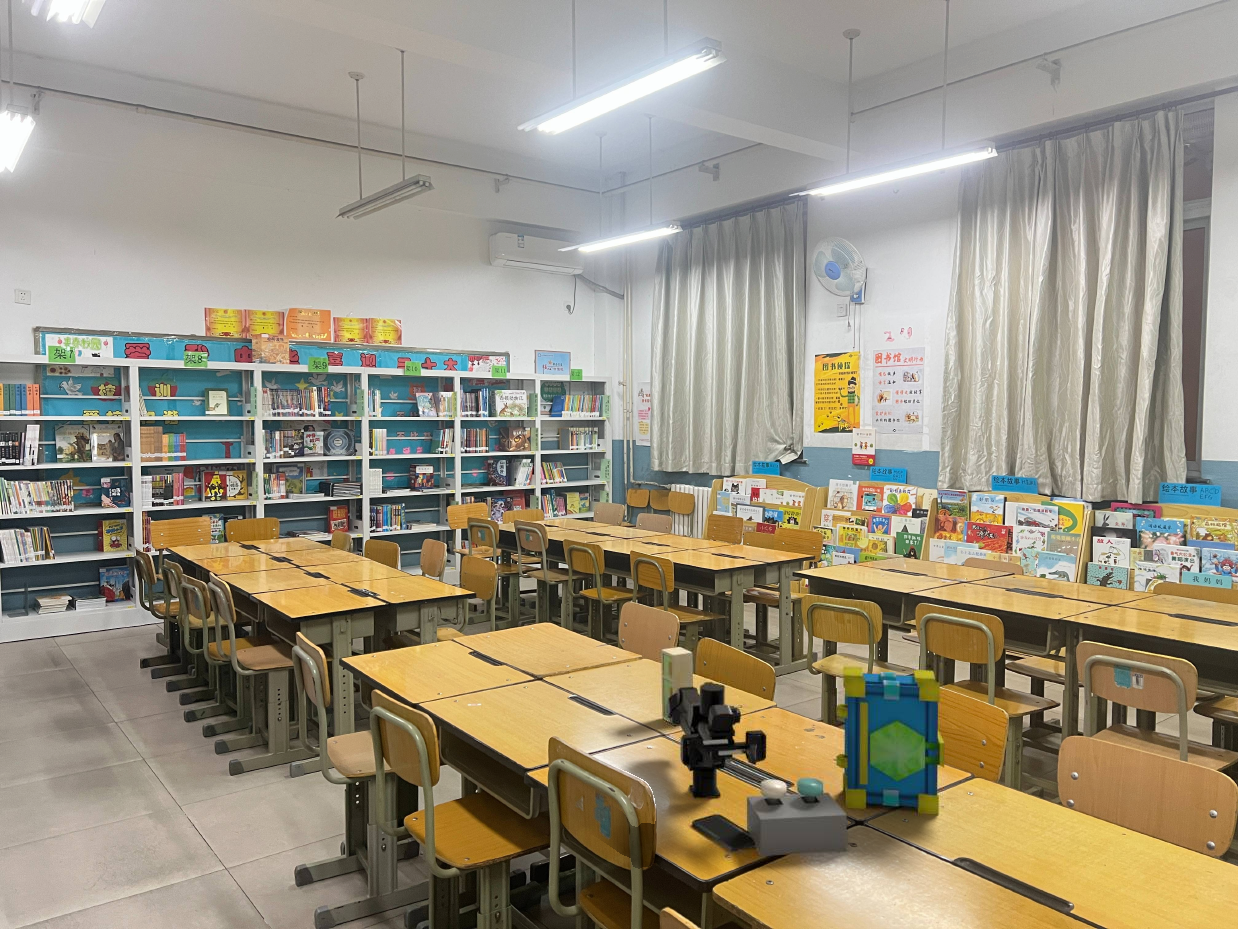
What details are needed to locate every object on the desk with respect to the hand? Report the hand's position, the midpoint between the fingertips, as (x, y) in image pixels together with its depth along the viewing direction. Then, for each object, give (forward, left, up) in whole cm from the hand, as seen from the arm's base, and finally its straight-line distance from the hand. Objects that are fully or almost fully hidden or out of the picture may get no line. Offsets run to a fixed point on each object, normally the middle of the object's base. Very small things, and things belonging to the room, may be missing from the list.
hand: (734, 763), depth 180 cm
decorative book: (-15, +40, -17) cm, 46 cm away
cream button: (-2, +9, -11) cm, 14 cm away
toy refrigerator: (-76, +1, -17) cm, 78 cm away
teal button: (-2, +17, -11) cm, 20 cm away
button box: (+1, +13, -17) cm, 21 cm away
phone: (-4, -1, -17) cm, 18 cm away
